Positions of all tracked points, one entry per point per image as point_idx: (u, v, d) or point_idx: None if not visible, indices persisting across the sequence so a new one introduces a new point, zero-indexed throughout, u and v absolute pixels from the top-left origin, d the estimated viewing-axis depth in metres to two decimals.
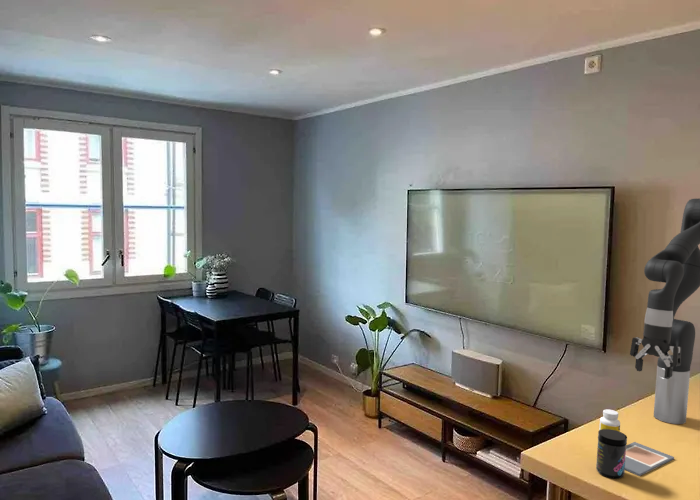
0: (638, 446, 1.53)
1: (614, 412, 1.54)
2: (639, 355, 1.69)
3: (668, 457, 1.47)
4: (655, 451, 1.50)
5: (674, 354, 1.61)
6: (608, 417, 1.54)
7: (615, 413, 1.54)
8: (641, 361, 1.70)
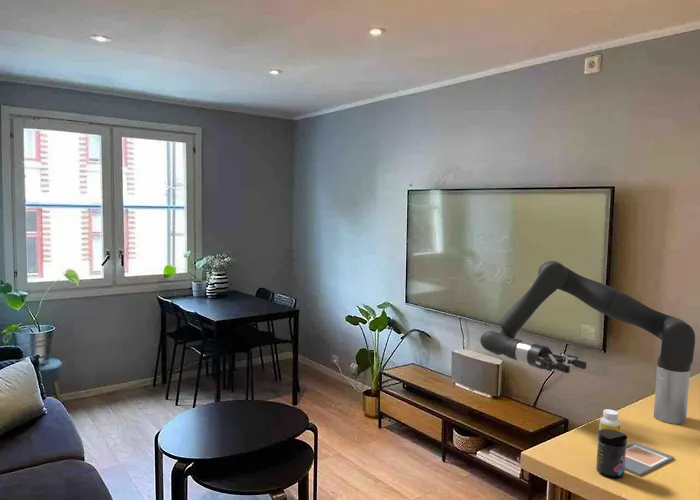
0: (638, 446, 1.53)
1: (614, 412, 1.54)
2: None
3: (668, 457, 1.47)
4: (655, 451, 1.50)
5: None
6: (608, 417, 1.54)
7: (615, 413, 1.54)
8: (575, 363, 1.68)
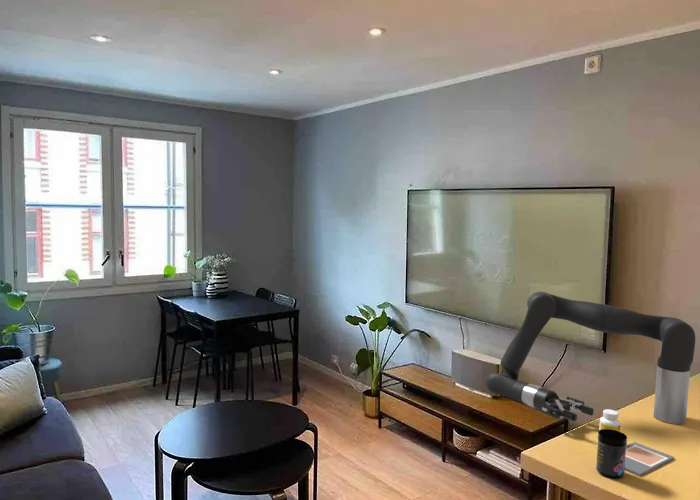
0: (638, 446, 1.53)
1: (614, 412, 1.54)
2: None
3: (668, 457, 1.47)
4: (655, 451, 1.50)
5: None
6: (608, 417, 1.54)
7: (615, 413, 1.54)
8: (582, 408, 1.67)
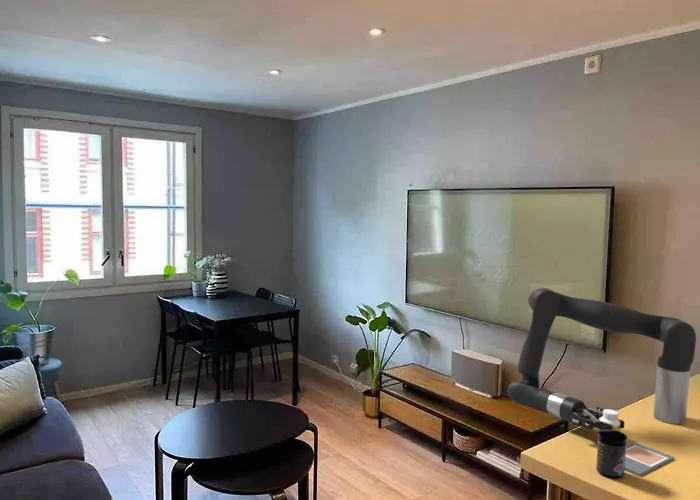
0: (638, 446, 1.53)
1: (614, 412, 1.54)
2: None
3: (668, 457, 1.47)
4: (655, 451, 1.50)
5: None
6: (608, 417, 1.53)
7: (615, 413, 1.54)
8: None
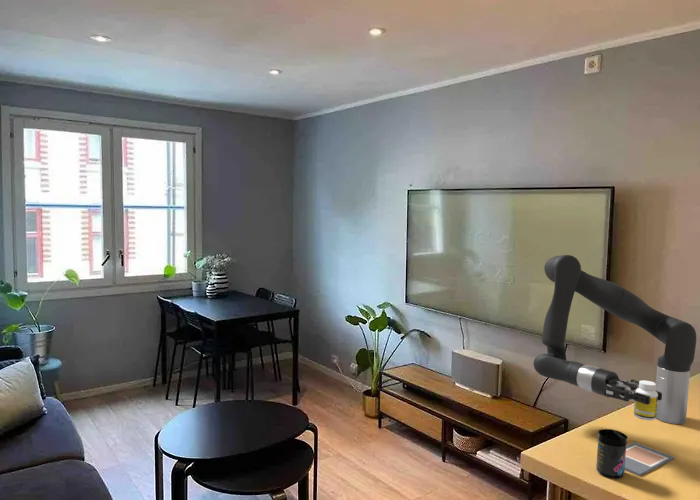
0: (638, 446, 1.53)
1: (651, 383, 1.45)
2: None
3: (668, 457, 1.47)
4: (655, 451, 1.50)
5: None
6: (645, 388, 1.44)
7: (652, 384, 1.45)
8: None
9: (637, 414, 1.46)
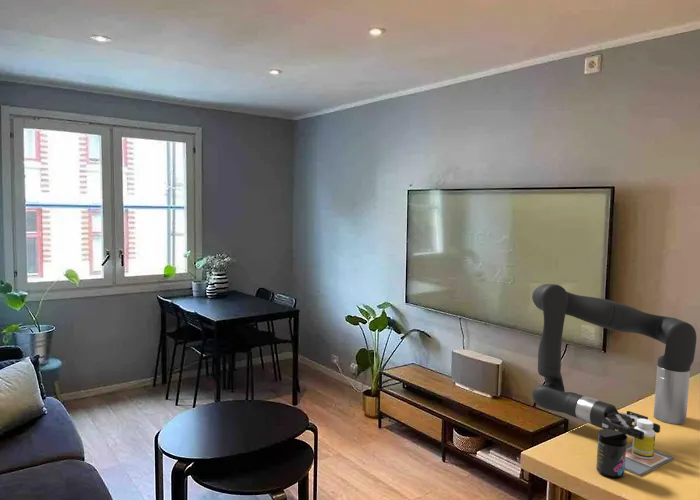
0: None
1: (649, 421, 1.46)
2: None
3: (668, 457, 1.47)
4: (655, 451, 1.50)
5: None
6: (643, 427, 1.45)
7: (650, 423, 1.46)
8: None
9: (635, 453, 1.46)
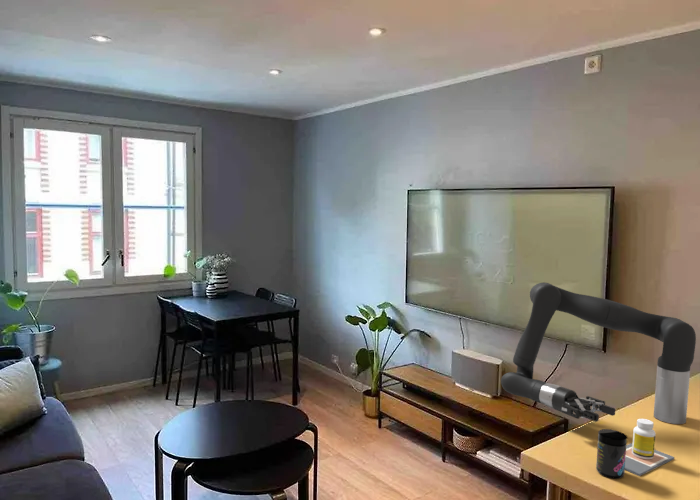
0: None
1: (649, 422, 1.46)
2: None
3: (668, 457, 1.47)
4: (655, 451, 1.50)
5: None
6: (643, 427, 1.45)
7: (650, 423, 1.45)
8: (603, 408, 1.61)
9: (635, 453, 1.46)
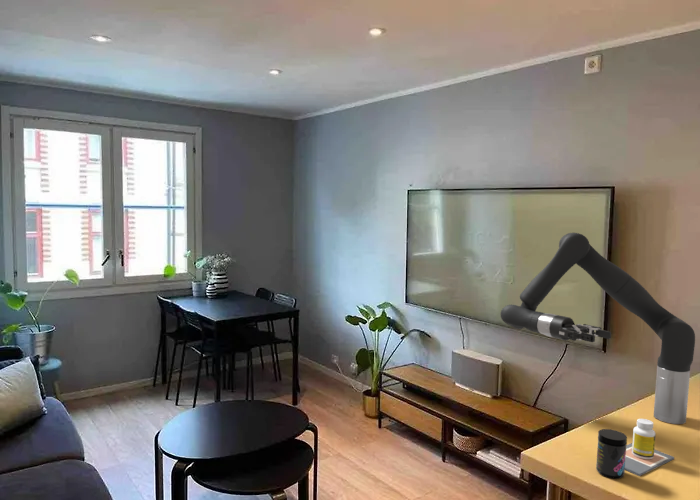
0: None
1: (649, 422, 1.46)
2: None
3: (668, 457, 1.47)
4: (655, 451, 1.50)
5: None
6: (643, 427, 1.45)
7: (650, 423, 1.45)
8: (600, 333, 1.65)
9: (635, 453, 1.46)
